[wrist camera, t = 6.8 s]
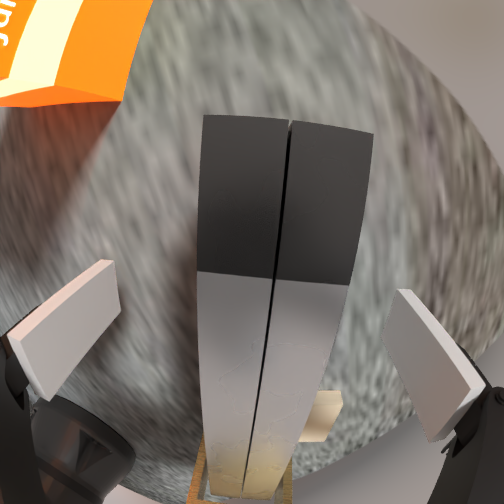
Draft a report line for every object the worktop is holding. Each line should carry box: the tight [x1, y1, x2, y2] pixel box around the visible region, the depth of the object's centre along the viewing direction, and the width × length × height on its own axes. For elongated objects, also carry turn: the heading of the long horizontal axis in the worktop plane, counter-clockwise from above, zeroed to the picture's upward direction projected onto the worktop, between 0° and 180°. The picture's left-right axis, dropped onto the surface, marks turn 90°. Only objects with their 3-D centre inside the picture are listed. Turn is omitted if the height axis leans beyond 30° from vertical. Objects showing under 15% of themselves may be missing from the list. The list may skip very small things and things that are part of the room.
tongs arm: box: [241, 120, 374, 500], centre depth 11 cm, size 16×2×9 cm, turn 175°
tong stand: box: [242, 390, 343, 486], centre depth 16 cm, size 6×10×6 cm, turn 85°
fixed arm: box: [197, 115, 289, 498], centre depth 12 cm, size 16×2×9 cm, turn 175°
